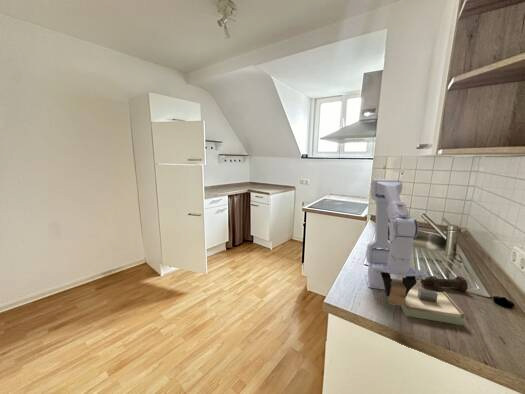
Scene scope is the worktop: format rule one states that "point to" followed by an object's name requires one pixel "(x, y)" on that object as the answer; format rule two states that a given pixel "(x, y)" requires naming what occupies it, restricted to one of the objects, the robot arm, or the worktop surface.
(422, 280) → the bolt
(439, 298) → the lid
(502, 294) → the worktop surface
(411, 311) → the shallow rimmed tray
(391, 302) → the block
